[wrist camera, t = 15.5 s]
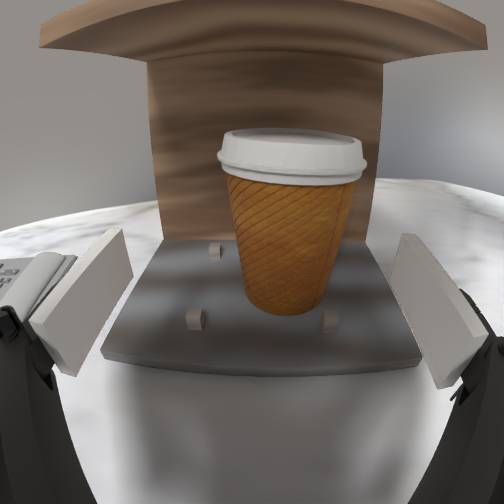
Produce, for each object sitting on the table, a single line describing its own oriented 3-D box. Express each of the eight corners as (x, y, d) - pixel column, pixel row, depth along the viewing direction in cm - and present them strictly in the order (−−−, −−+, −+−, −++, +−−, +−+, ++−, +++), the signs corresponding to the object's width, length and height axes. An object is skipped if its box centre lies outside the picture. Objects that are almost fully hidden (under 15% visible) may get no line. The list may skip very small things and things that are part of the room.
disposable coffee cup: (220, 263, 26) (213, 128, 20) (319, 254, 27) (331, 129, 21) (231, 340, 18) (220, 147, 12) (362, 320, 19) (400, 152, 13)
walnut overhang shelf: (417, 365, 16) (497, 23, 5) (104, 358, 17) (28, 22, 6) (358, 241, 32) (375, 52, 21) (170, 238, 33) (154, 50, 22)
